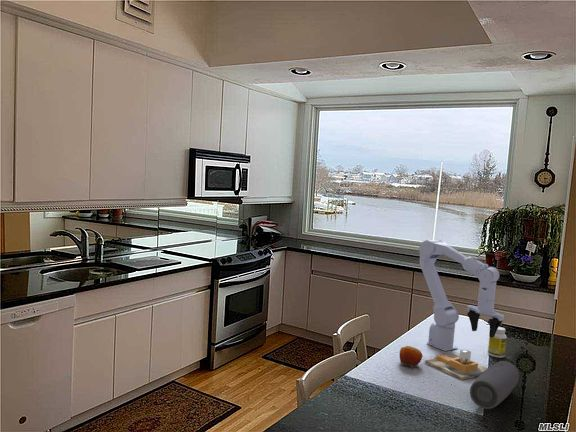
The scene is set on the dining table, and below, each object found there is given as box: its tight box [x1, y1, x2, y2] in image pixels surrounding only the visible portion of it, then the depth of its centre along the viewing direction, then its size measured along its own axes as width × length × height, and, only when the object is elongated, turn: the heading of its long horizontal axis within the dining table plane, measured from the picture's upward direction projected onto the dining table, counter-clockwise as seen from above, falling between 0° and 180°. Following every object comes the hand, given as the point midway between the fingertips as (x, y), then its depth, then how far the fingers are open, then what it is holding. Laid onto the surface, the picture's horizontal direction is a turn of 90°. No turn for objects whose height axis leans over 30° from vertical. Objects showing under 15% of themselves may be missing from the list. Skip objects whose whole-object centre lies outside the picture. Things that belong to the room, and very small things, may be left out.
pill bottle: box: [487, 326, 507, 359], centre depth 187 cm, size 6×6×11 cm
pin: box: [459, 349, 472, 365], centre depth 169 cm, size 4×4×6 cm
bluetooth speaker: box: [469, 360, 520, 410], centre depth 147 cm, size 23×9×10 cm, turn 141°
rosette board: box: [424, 353, 488, 381], centre depth 172 cm, size 17×16×1 cm
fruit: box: [399, 345, 424, 370], centre depth 171 cm, size 8×8×8 cm
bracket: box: [435, 353, 479, 373], centre depth 172 cm, size 14×7×3 cm, turn 33°
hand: (482, 333), depth 182 cm, fingers open, 7 cm apart
